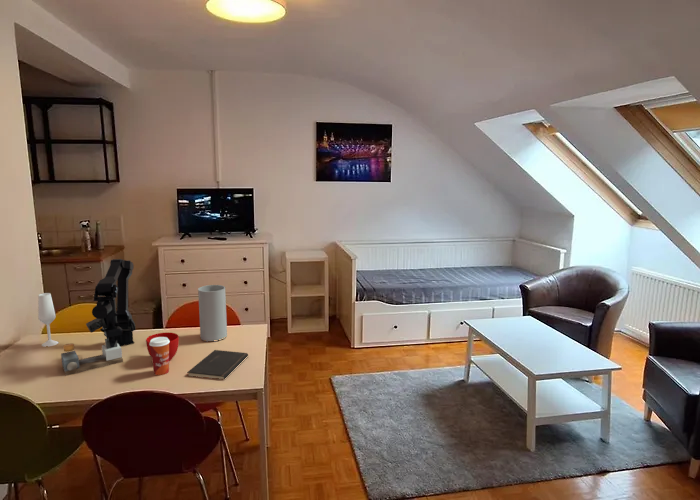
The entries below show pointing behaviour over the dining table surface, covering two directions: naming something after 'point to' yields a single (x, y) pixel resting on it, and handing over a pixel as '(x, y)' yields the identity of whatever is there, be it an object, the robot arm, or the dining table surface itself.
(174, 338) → the ceramic cup
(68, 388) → the dining table surface
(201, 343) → the dining table surface
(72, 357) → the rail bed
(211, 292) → the cylinder vase
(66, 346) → the button
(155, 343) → the paper cup
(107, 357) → the carriage
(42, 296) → the champagne flute
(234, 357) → the hardcover book
